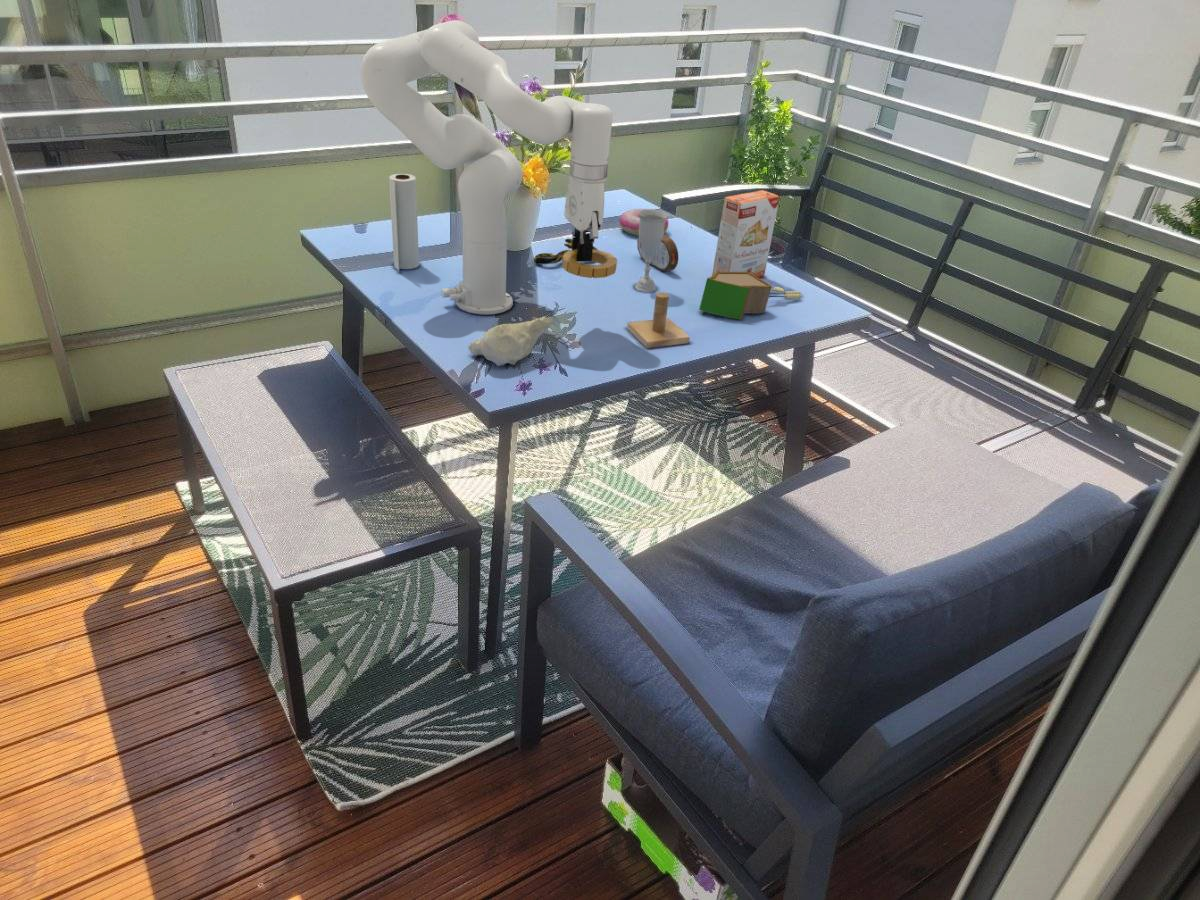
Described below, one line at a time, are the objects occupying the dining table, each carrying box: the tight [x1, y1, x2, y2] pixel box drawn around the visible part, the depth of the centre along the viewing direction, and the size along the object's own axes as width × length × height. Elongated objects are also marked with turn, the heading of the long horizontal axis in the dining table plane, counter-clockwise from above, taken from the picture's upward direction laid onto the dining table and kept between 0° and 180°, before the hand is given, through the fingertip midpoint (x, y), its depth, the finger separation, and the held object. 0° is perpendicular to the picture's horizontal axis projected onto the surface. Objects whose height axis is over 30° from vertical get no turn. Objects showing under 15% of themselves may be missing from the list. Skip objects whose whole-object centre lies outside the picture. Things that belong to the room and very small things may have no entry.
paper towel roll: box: [388, 173, 420, 272], centre depth 212 cm, size 7×6×21 cm
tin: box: [636, 234, 679, 272], centre depth 228 cm, size 15×3×8 cm, turn 32°
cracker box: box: [711, 189, 781, 279], centre depth 221 cm, size 14×6×21 cm, turn 129°
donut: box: [619, 208, 669, 237], centre depth 251 cm, size 14×13×5 cm
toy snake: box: [533, 238, 598, 265], centre depth 229 cm, size 18×5×10 cm
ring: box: [561, 249, 618, 279], centre depth 187 cm, size 11×11×2 cm
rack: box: [626, 291, 691, 349], centre depth 193 cm, size 10×10×10 cm
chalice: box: [634, 208, 669, 293], centre depth 213 cm, size 7×7×18 cm
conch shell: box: [468, 316, 554, 367], centre depth 179 cm, size 15×7×15 cm
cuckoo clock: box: [699, 270, 802, 321], centre depth 212 cm, size 12×8×30 cm
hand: (581, 257), depth 190 cm, fingers closed on ring, 2 cm apart
